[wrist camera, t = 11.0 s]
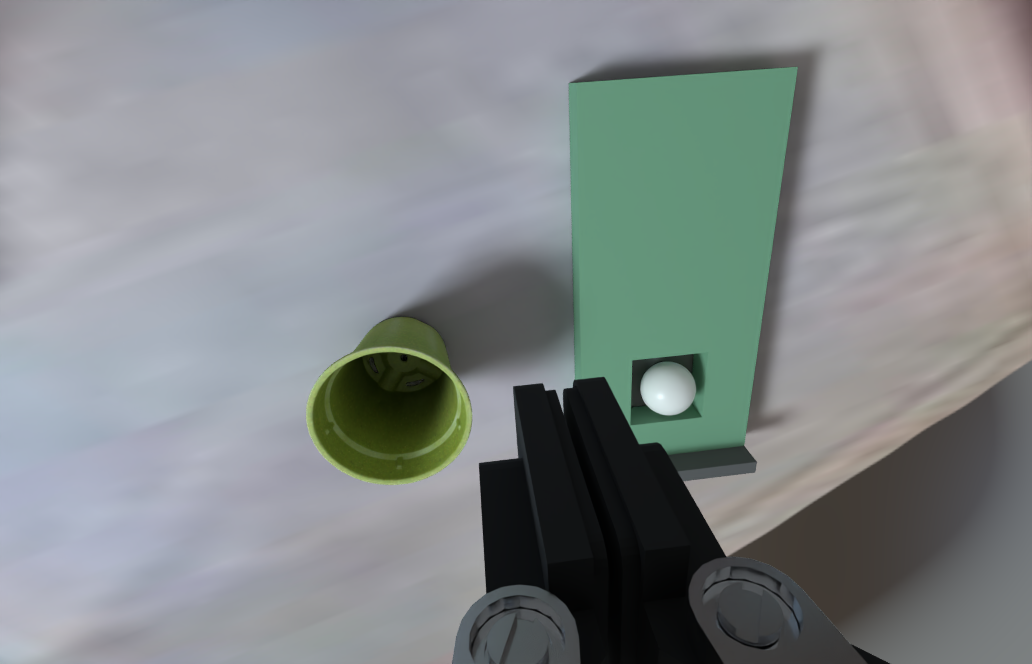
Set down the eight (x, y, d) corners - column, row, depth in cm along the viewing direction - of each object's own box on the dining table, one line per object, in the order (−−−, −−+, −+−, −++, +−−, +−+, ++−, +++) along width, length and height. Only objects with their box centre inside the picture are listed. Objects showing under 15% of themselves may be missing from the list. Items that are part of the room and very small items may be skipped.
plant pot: (314, 316, 37) (275, 378, 29) (443, 275, 37) (440, 326, 29) (368, 423, 41) (347, 503, 33) (485, 386, 41) (492, 458, 33)
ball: (648, 368, 38) (649, 423, 38) (704, 365, 38) (705, 420, 38) (633, 359, 41) (635, 409, 42) (684, 355, 42) (685, 405, 42)
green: (568, 83, 32) (584, 82, 28) (775, 68, 33) (818, 65, 29) (576, 456, 44) (588, 492, 40) (728, 438, 45) (755, 472, 41)
